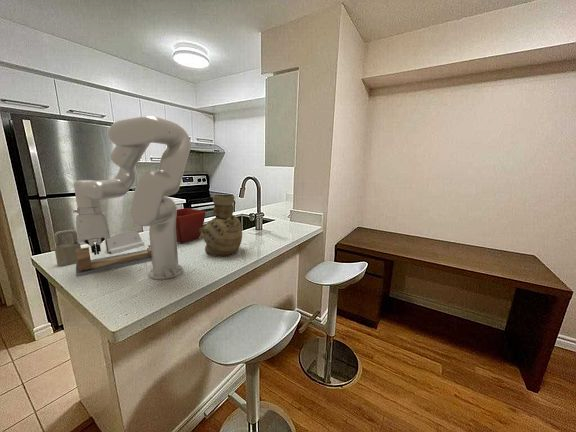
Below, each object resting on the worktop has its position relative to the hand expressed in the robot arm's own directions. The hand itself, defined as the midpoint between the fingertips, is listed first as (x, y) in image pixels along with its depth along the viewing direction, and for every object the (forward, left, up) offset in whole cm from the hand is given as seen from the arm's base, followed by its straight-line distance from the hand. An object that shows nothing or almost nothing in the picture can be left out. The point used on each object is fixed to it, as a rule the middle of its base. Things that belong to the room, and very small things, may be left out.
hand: (96, 253), depth 100 cm
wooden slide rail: (+3, -9, -7) cm, 12 cm away
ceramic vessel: (-15, -50, -7) cm, 53 cm away
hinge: (+23, -12, -7) cm, 27 cm away
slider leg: (+2, +4, -5) cm, 7 cm away
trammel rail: (+2, -9, -5) cm, 11 cm away
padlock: (+15, +9, -7) cm, 19 cm away
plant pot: (+21, -42, -7) cm, 47 cm away
